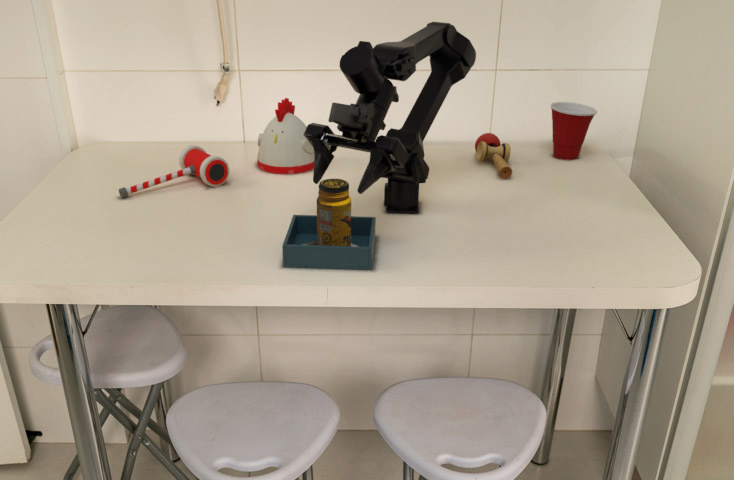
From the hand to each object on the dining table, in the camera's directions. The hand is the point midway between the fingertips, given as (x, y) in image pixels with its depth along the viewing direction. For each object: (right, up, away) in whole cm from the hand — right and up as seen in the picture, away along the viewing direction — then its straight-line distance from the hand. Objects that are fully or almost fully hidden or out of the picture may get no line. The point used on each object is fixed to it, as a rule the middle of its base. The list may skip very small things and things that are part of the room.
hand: (336, 187), depth 135 cm
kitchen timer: (-12, +14, +47) cm, 51 cm away
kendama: (+36, +14, +46) cm, 60 cm away
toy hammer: (-34, +7, +34) cm, 49 cm away
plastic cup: (+54, +18, +53) cm, 78 cm away
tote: (-1, -11, +4) cm, 11 cm away
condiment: (-1, -10, +4) cm, 11 cm away
